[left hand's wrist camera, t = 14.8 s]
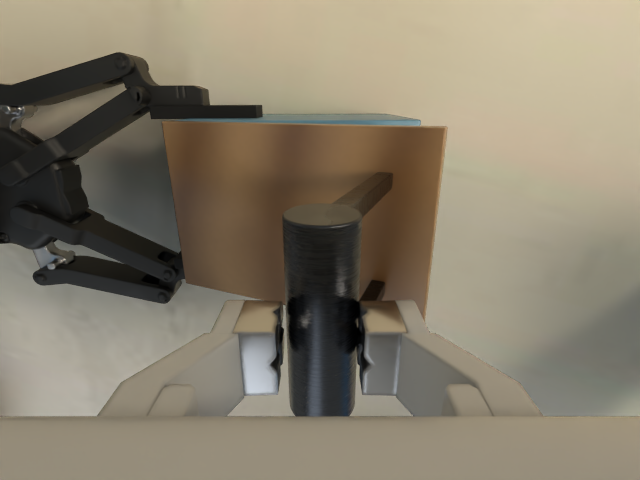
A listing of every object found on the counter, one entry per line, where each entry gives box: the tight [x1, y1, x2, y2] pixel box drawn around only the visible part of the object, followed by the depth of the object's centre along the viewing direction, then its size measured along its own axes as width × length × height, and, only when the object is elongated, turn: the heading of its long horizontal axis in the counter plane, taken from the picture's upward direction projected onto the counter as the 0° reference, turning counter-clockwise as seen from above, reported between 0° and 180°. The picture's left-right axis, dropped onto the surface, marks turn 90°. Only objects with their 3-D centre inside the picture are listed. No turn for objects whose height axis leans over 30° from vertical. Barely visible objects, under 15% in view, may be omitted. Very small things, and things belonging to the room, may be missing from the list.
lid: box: [162, 121, 448, 416], centre depth 15 cm, size 14×10×9 cm
